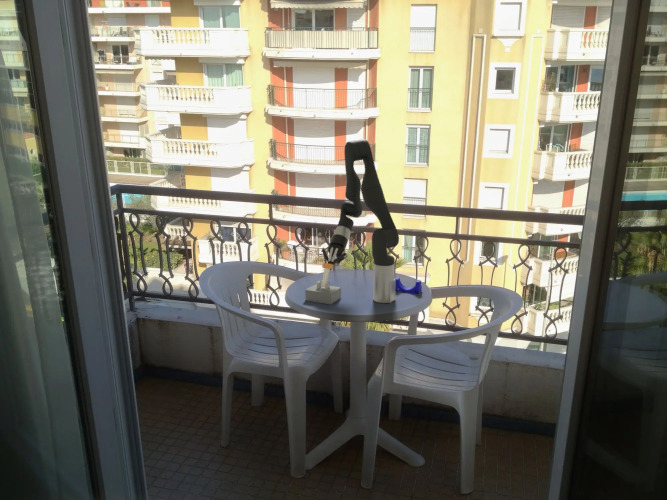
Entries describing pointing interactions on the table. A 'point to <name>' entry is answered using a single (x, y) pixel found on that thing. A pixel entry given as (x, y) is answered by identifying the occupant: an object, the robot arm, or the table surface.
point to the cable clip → (415, 289)
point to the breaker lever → (326, 273)
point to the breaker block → (323, 293)
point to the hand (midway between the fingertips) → (328, 269)
